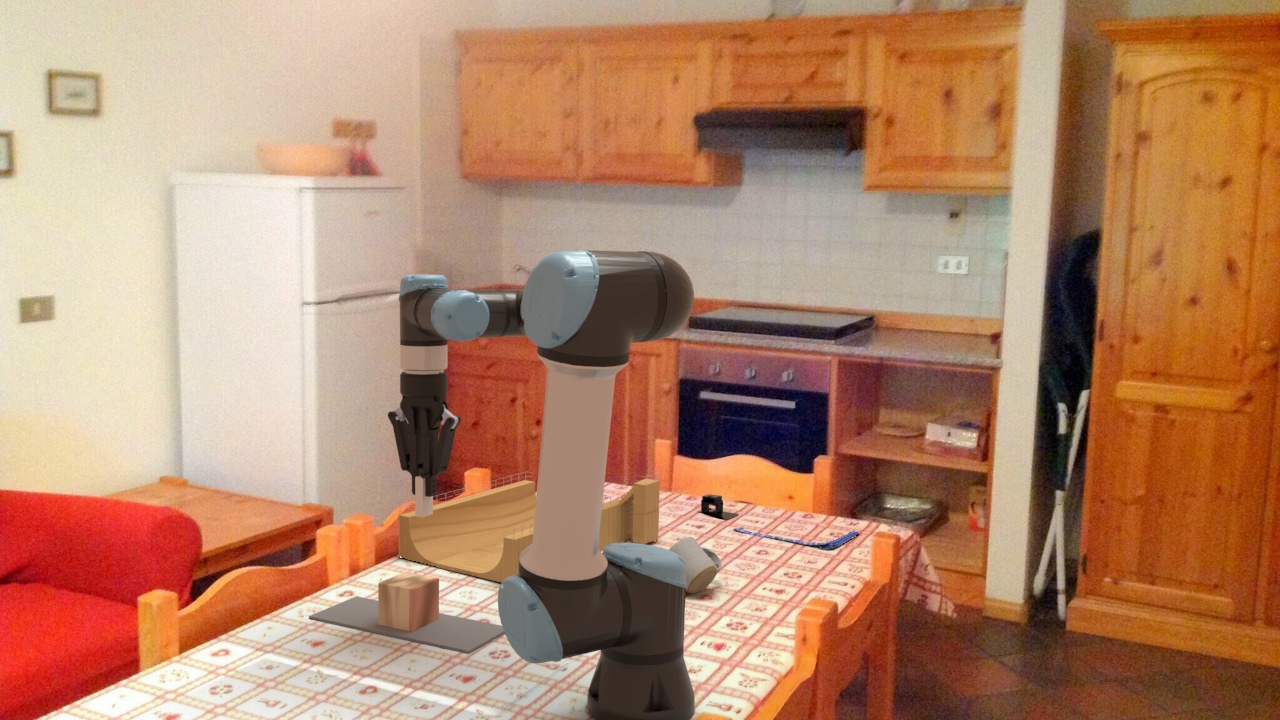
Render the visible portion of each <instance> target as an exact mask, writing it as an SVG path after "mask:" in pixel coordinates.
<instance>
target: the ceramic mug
mask: <svg viewBox="0 0 1280 720" xmlns="http://www.w3.org/2000/svg"><path fill="white" fill-rule="evenodd" d="M668 550H670V551H672V552H674V553H676V554H678V555H679V556H680V557H681V558H682V559H683V561H684V563H685V573H686V584H687V588H686V592H687V593H688V594H691V595H692V594H698V593H700V592H701V591H703V590H705V589H706V588H707V587H708V586H709V585H710V584H711V583H712V582H714V580H715V578H716V576H717V574H718V573H719V572H720V570H721V569H722V566H723V565H722V564H723V563H722V561H721V558H720V557H719V556H718V554H717V553H716V552H714V551H713V550H712V549H709V548H706V547H703V546H701V545H700V544H699V542H698V541H697V540H696V539H695V538H694V537H693V536H687V537H684V538H682V539H680V540H678V541H677V542H675V543H674V544H673V545H671V547H669V549H668Z"/></svg>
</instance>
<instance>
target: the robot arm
mask: <svg viewBox="0 0 1280 720" xmlns="http://www.w3.org/2000/svg"><path fill="white" fill-rule="evenodd" d="M399 282H400V283H399V284H400V286H399V295H398V301H399V336H400V337H399V339H400V340H399V368H400V370H403V371H402V372H401V373H400V374H399V380H400V381H399V393H400V394H401V396H402V397H401V400H400V403H399V407H398V408H396V409H395V410H392V411H391V410H390V411H389V412H388V413H387V419H389V421H390V424H391V426H392V428H393V433H394V434H393V435H394V439H395V444H396V449H397V455H398V459H399V460H398V461H399V463H400V464H399V465H400V468H401V470H402V471H403V472H405V471H406V472H408V473H409V474H410V475H411V493H412V496H413V495H414V496H415V497H414V498H415V500H414V501H415V502H414V503H415V505H414V508H415V509H414V510H415V516H416V517H426V516H429V515H432V514H433V505H434V497H435V496H437V495H436V494H437V476H438V475H441V474H444V473H446V472H447V471H448V469H449V464H450V458H451V454H452V448H453V445H454V440H455V434H456V430H457V428H458V426H459V425H460V423H461V421H462V418H461V416H459V415H454V414H453V413H452V412H451V411H449V405H448V403H447V399H446V398H447V396H448V390H449V389H448V386H449V383H448V380H449V379H448V377H449V375H448V373H447V372H446V371H445V370H446V369H447V368H448V367H449V366H448V365H449V364H448V362H449V361H448V358H449V357H448V351H449V350H448V346H449V345H448V343H449V342H448V341H449V340H450V341H451V342H469V341H470V342H471V341H474V340H475V339H490V338H491V339H492V338H513V337H514V338H515V337H517V338H518V337H527V338H528V340H529V341H531V343H532V344H534V345H535V346H537V349H536V356H537V357H538V358H539V360H540V361H542V363H543V364H544V365H545V367H546V369H547V373H546V382H545V383H546V385H545V394H544V395H545V396H544V406H543V419H542V427H541V428H542V430H541V440H540V442H541V443H540V453H539V462H538V463H539V464H538V474H537V486H536V508H535V519H534V531H533V542H532V544H531V545H530V546H528V547H527V548H526V549H524V550H523V551H522V552H521V554H520V558H519V568H518V575H512V576H509V577H508V578H506V579H504V581H503V583H501V582H500V583H501V584H500V586H499V588H498V592H497V607H498V608H497V609H498V615H499V620H500V625H501V626H502V627H503V630H504V632H505V633H504V634H505V637H506V639H507V641H508V643H509V645H510V647H511V648H512V649H513V651H514V652H515V653H516V654H517V655H518V657H520V658H521V659H523V661H525V662H527V663H530V664H537V665H538V664H543V663H548V662H549V663H550V662H553V663H554V662H555V663H557V662H561V661H562V660H564V659H565V660H566V659H567V658H568V659H569V658H573V657H577V656H580V655H581V656H582V655H586V654H590V653H593V652H594V653H595V652H597V651H600V656H599V658H598V662H597V664H596V666H595V670H594V672H593V675H592V678H591V681H590V683H589V686H588V689H587V697H586V700H587V701H586V710H587V712H588V714H589V716H590V717H591V718H593V719H594V720H690V719H692V717H693V716H694V715H695V702H696V701H695V698H696V696H695V691H694V688H693V684H692V682H691V678H690V675H689V672H688V668H687V665H686V661H685V657H684V650H685V649H684V648H685V647H684V644H685V611H686V592H687V591H686V588H687V584H686V573H685V563H684V561H683V559H682V558H681V557H680V556H679V555H678V554H676V553H674V552H672V551H670V550H669V549H668V548H663V547H659V546H655V545H652V544H651V545H650V544H640V543H635V542H634V543H633V542H621V543H612V544H609V545H607V546H605V547H604V549H603V550H602V551H599V550H598V542H599V532H600V522H601V513H602V504H603V503H604V492H605V491H604V490H605V484H606V483H605V480H606V472H607V462H608V452H609V442H610V432H611V425H612V424H611V423H612V422H611V420H612V414H613V404H614V393H615V392H614V391H615V383H616V376H617V374H618V373H619V372H620V371H621V370H623V369H624V368H626V367H627V365H629V363H630V356H631V355H630V354H631V346H632V343H633V344H634V343H636V344H637V343H647V342H654V341H660V340H664V339H665V338H668V337H670V336H672V335H673V334H676V333H677V332H678V331H679V330H681V328H683V326H684V325H685V324H686V323H687V321H688V319H689V318H690V317H691V314H692V312H693V310H694V309H693V308H694V304H695V303H694V302H695V292H694V286H693V282H692V280H691V278H690V276H689V274H688V273H687V271H686V270H685V269H684V268H683V266H682V265H681V264H679V262H677V261H676V260H675V259H674V258H671V257H669V256H667V255H665V254H663V253H659V252H655V251H648V250H647V251H646V250H641V251H640V250H639V251H626V250H624V251H623V250H620V251H619V250H595V249H594V250H591V249H590V250H589V249H578V248H577V249H575V250H567V251H554V252H552V253H549V254H547V255H545V256H544V257H542V258H541V259H540V260H539V261H538V263H537V264H535V265H534V267H533V268H532V270H531V272H530V273H529V275H528V277H527V280H526V282H525V285H524V288H513V289H509V288H508V289H449V284H448V279H447V278H446V276H445V275H442V274H431V273H430V274H428V273H427V274H421V273H420V274H418V273H417V274H416V273H415V274H411V273H410V274H405V275H403V276H402V277H401V279H400V281H399ZM441 425H442V427H441ZM433 496H434V497H433Z"/></svg>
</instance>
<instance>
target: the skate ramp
mask: <svg viewBox="0 0 1280 720" xmlns="http://www.w3.org/2000/svg"><path fill="white" fill-rule="evenodd" d="M649 472H650V473H651V472H652V473H653V471H650V470H649ZM524 473H525V476H523V478H524V477H525V479H524V480H520V478H522V476H521V477H520V476H519V477H517V478H514V479H513V478H510V480H508V482H509V481H510V483H509V484H506V485H505V484H504V483H506V482H507V480H506V481H505V480H504V481H503V482H502V481H501V484H504V485H502V486H498V487H497V485H499V484H500V482H498V483H497V480H500V479H502V477H501V478H498V479H495V480H494V479H493V480H492V482H493V481H494V482H495V484H491V485H490V487H491V486H495V488H491V489H489V483H490V482H491V481H487V482H483V483H481V485H483V484H486V483H487V485H486V490H484V491H479V492H477V493H472V491H474V489H471V491H466V492H465V491H464V494H466V493H467V492H468V493H470V494H469V495H465V496H462V497H458V498H453V499H451V500H447V498H448V496H447V494H448V493H450V491H448V492H445V493H443V495H444V496H445V497H443V498H442V499H445V501H443V502H440V503H438V501H439V500H441V498H439V499H438V496H440V495H442V493H441V494H437V495H434V496H433V498H434V497H436V500H434V502H436V503H435V504H433V514H432V515H429V516H426V517H416V516H415V509H414V510H411V506H410V505H411V503H412V501H411V502H408V503H407V502H406V503H403V504H400V507H403V506H404V507H406V508H405V512H404V513H399V514H398V517H397V518H398V557H399V556H401V557H402V558H405V559H408V560H407V561H409V560H412V561H411V562H413V561H416V562H415V563H417V562H420V563H419V564H422V563H424V564H423V565H426V564H428V565H427V566H430V565H431V566H430V567H434V566H436V567H435V568H440V569H443V570H448V571H451V572H456V573H460V574H464V575H469V576H473V577H477V578H480V579H484V580H489V581H493V582H498V583H503V581H504V579H506V578H508V577H509V576H512V575H518V568H519V558H520V554H521V552H522V551H523V550H524V549H526V548H527V547H528V546H530V545H531V544H532V542H533V531H534V519H535V508H536V496H537V494H536V482H535V481H534V480H533V481H532V480H527V472H525V471H524V472H522V474H524ZM529 473H530V474H532V472H531V471H529ZM656 474H657V475H658V474H659V472H656V471H655V473H654V474H651V475H647V476H646V478H644V476H643V475H642V476H641V475H640V477H643V478H644V479H641V480H638V479H636V481H635V482H634V483H633V485H632V486H631V488H630V489H629V491H626V494H623V496H622V497H620V499H619V495H618V494H614V495H611V496H608V497H605V498H604V500H606V499H608V498H609V500H610V501H607V502H603V503H602V513H601V522H600V532H599V542H598V550H599V551H600V552H603V549H604V547H605V546H607V545H609V544H612V543H624V542H625V541H628V540H630V539H632V543H637V544H645V545H647V544H648V543H651V542H652V541H655V543H658V539H659V530H660V529H659V523H660V520H659V519H660V484H661V483H660V480H659V479H660V476H657V477H655V476H654V475H656ZM516 475H517V473H516V474H511V477H513V476H516ZM518 475H521V472H520V473H518ZM636 476H637V477H638V475H634V477H636ZM509 477H510V475H508V476H507V478H509ZM529 477H530V478H531V476H528V478H529ZM649 477H651V479H650V478H649ZM505 478H506V476H505V477H503V479H505ZM517 479H518V480H517ZM656 479H657V480H656ZM513 480H517V482H513ZM474 486H476V484H474V485H473V487H474ZM477 486H480V483H479V484H478V483H477ZM467 488H472V485H471V486H470V485H469V486H466V489H467ZM484 488H485V486H484V487H482V489H484ZM464 489H465V487H463V488H462V490H464ZM459 490H461V488H460V489H458V491H459ZM476 490H478V488H476V489H475V491H476ZM456 491H457V489H455V490H452V491H451V493H452V492H453V493H454V492H456ZM458 495H459V494H456V496H458ZM460 495H463V492H461V493H460ZM614 496H617V498H616V499H613V500H612V497H614ZM451 497H452V495H451V496H449V498H451ZM413 503H415V500H414V501H413ZM407 504H408V506H407ZM412 508H415V505H413V506H412ZM406 509H407V511H406ZM401 511H404V508H403V509H400V512H401ZM405 559H404V560H405Z"/></svg>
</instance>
